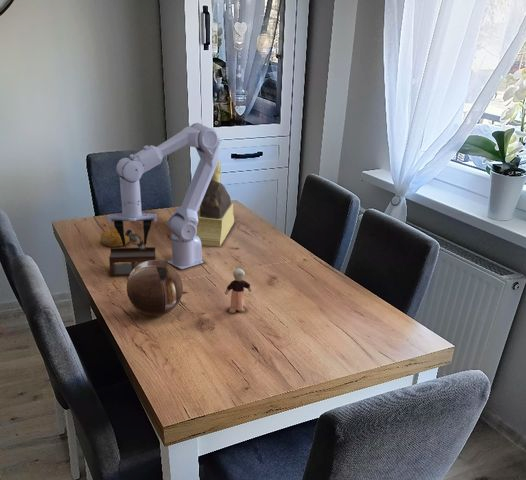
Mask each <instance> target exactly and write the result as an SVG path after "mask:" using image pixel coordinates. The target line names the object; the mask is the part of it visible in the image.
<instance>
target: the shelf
mask: <svg viewBox="0 0 526 480" xmlns="http://www.w3.org/2000/svg"><path fill="white" fill-rule="evenodd" d="M156 256H157V255H156V247H155V246H148V247H147V246H145V248H144V249H141V248H139V247H138V246H136V247H110V253H109V256H108V262H109V268H110V269H109V271H110V277H129V275H130V273H131V272H132V270H133V269H134V268H135V267H136V266H138V265H139V264H140V263H143V262H145V261H150V260H157V258H156ZM118 263H119V264H118Z"/></svg>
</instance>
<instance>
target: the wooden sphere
mask: <svg viewBox="0 0 526 480" xmlns="http://www.w3.org/2000/svg"><path fill="white" fill-rule="evenodd" d="M138 264H139V265H138V266H136V267H135V268H134V269H133V270H132V272H131V273H130V275H129V276H127V277H128V278H127V281H126V293H127V298H128V300H129V302H130V303H131V304H132V306H133V307H134V308H135V309H136V310H138V311H139V312H140V313H143V314H144V315H148V316H155V317H156V316H157V317H158V316H162V315H163V316H164V315H166V314H169V313H170V312H171V311H173V310H174V309H175V308H176V307H177V306H178V305H179V303H180V301H181V299H182V298H183V297H182V296H183V292H184V287H183V286H184V284H183V280H182V278H181V275H180V274H179V272H178V270H177V269H176V268H175V267H174V266H173V265H171V264H169V263H167V261H166V262H165V261H162V260H158V259H156V260H150V261H145V262H140V263H138Z"/></svg>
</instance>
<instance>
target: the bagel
mask: <svg viewBox="0 0 526 480" xmlns="http://www.w3.org/2000/svg"><path fill="white" fill-rule="evenodd" d="M125 233H126V231H124V236H125V245H123V243H122V240H121V237H120V235H119V233H118V231H117V230H116V229H111V230H108V231H107V230H105V231H103V232H102V233H101V234H100V237H99V240H100V243H102V244H104V245H105V246H107V247H110V248H122V247H124V246H127V245H128V243H131V242H130V240H129V238H130V237H129V236H126V235H125Z"/></svg>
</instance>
